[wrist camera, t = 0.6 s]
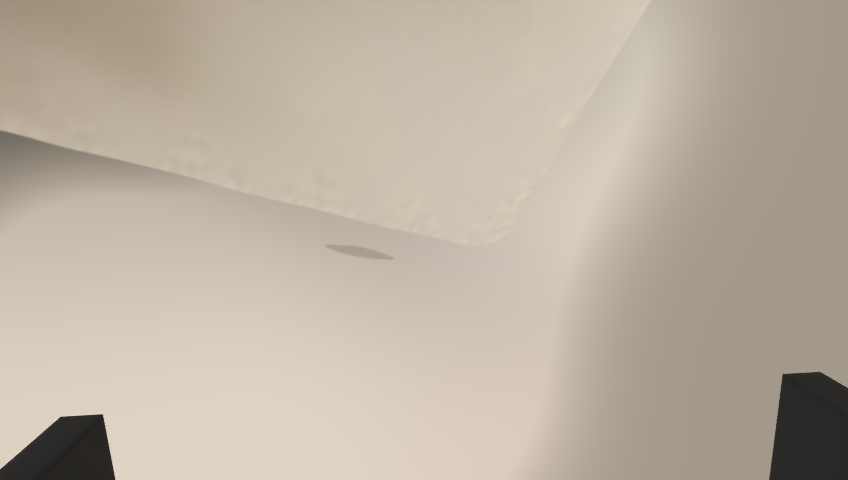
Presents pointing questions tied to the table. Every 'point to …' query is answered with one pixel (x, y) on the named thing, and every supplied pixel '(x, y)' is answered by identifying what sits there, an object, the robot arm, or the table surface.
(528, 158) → the table surface
